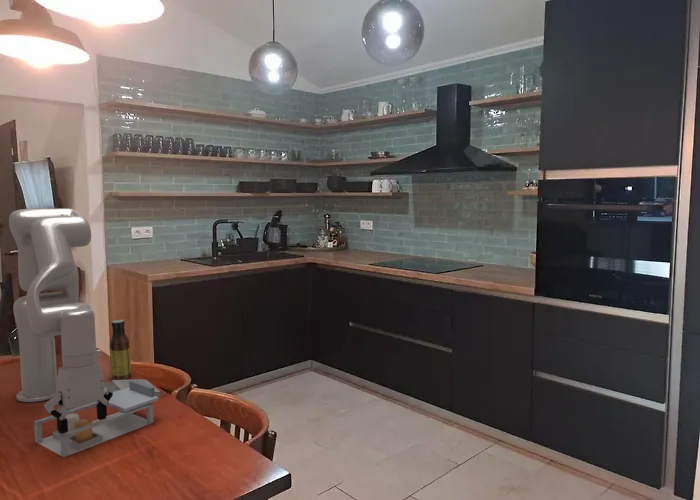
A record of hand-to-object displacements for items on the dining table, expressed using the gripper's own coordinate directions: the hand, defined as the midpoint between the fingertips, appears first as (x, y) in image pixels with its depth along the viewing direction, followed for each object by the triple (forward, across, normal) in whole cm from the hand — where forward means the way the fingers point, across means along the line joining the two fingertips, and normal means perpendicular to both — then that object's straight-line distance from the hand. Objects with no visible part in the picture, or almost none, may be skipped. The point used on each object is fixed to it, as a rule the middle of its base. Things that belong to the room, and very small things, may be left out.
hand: (83, 426), depth 134 cm
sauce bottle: (+5, -34, -38) cm, 51 cm away
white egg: (+4, 0, -6) cm, 7 cm away
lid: (-2, -14, -3) cm, 14 cm away
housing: (+5, -5, -3) cm, 7 cm away
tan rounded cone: (+4, 0, 0) cm, 4 cm away
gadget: (+6, -23, -24) cm, 34 cm away
